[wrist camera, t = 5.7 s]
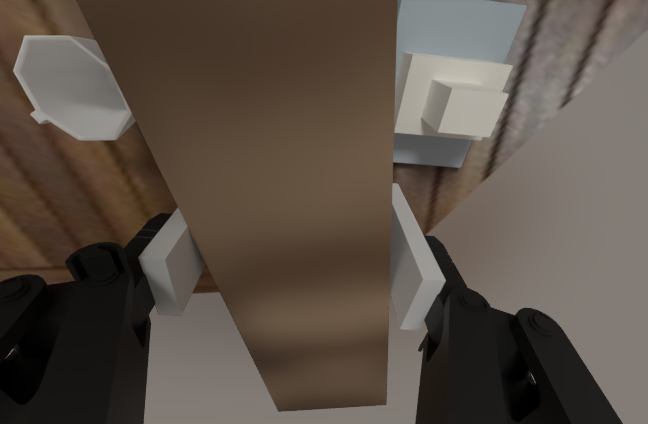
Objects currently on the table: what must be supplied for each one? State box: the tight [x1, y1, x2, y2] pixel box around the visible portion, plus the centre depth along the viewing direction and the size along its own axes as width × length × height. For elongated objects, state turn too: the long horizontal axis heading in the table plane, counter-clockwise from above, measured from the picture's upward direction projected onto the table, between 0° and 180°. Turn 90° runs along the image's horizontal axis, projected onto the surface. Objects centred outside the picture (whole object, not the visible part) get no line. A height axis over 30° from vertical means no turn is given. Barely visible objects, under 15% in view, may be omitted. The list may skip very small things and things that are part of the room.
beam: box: [76, 0, 398, 412], centre depth 13 cm, size 26×7×6 cm, turn 7°
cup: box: [13, 36, 136, 140], centre depth 22 cm, size 7×10×8 cm
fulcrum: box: [393, 0, 527, 168], centre depth 23 cm, size 14×10×8 cm
